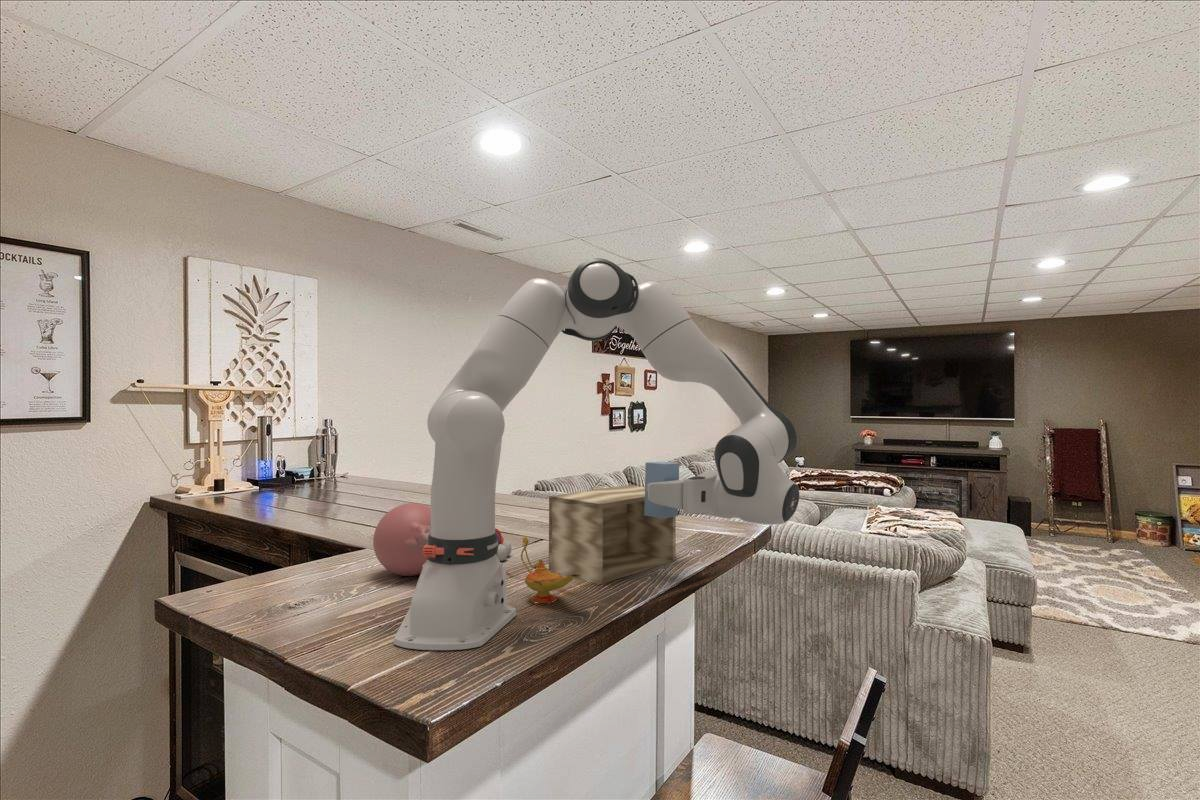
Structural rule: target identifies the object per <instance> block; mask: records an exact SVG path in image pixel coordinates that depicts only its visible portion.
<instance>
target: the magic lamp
mask: <svg viewBox="0 0 1200 800" xmlns="http://www.w3.org/2000/svg"><path fill="white" fill-rule="evenodd" d="M529 542H530V541H529V538H528V537H527V536H525V535H523V537H522V547H523V549H522V551H521V553H520V560H521V561H522V563H523V565H524V566H525V568H526V569H527V571H528V572H529V574H527V575H526V576H525V578H524V582H525V584H526V586H527V587H528V589H531V590H532V591H535V592H537V593H536V594H535V595H533V596H531V597H530V598H531V601H533V602H538V603H548V602H552V601H554V600H555V599H556V598H557V597H556V596H554V595H552V594H551V593H550V592H552V591H556V590H559V589H561V588H563V587H565V586H567V585H568V584H570V583H571V581H572V580H574V579H576V578H575V577H580V576H581V575H580V574H575V575H569V576H567V575H565V576H564V577H563V576H562V574H560V573H557V572H553V571H550V570H549V568H547V566H546V565H545V564H544V561H543V559H538V562H536V563H535V565H534V566H533V565H532V563H531V561H530V559H529V555H528V551H527V547H528V545H529ZM524 552H525V555H526V559H527V562H528V564H529V566H530V567H531V568H533V569H534V571H532V570H531V569H530V567H528V565H527V563H526V562H525V560H524V557H523V555H524ZM531 601H530V602H531ZM548 604H549V603H548Z"/></svg>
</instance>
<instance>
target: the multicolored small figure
mask: <svg viewBox="0 0 1200 800" xmlns="http://www.w3.org/2000/svg"><path fill="white" fill-rule="evenodd" d="M495 531H496V532H497V538H498V552H497V553H496V555H497V557H498V559H499V561H501V562H503V561H505V560H506V559H507V557H508V556H510V555H511V553H512V548H513V547H512V545H511V543H510V542H509V541H508V540H504V537H503V535H502V533H501V531H500V530H499V529H498V528H496V527H495Z"/></svg>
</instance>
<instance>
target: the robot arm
mask: <svg viewBox="0 0 1200 800" xmlns="http://www.w3.org/2000/svg"><path fill="white" fill-rule="evenodd" d="M633 282H634V283H633ZM616 328H620V329H622V330H624V331H625V332H627V333H628V334H629V335H630V337H632V339H634V341H635V342H636V344H637V346H638V347H639V349H640V351H641V352H642V354H643V355H644V357H645V358H646V360H647V361H648V363H649V364H650V366H651V367H652V368H653V369H654V370H655V371H656V372H657V374H658V375H659V376H661V377H662V378H664V379H667V380H670V381H673V382H679V383H680V382H681V383H684V382H685V383H697V384H703V385H705V386H708V387H709V388H711V389H713V390H714V391H715V392H716V393H717V394H718V395H719V396H720V398H721V399H722V401H724V402H725V403H726V405H727V406H728V407H729V408H730V409H731V411H732V412H733V413H734V414H735V416H736V417H737V418H738V419H739V421H740V425H739V426H738V427H736V428H734V429H733V430H731V431H730V432H728V433H726V435H724V436H723V437H722V438H721V439H720V440H719V441H718V442H717V443H716V446H715V448H714V454H713V455H714V463H715V466H716V470H715V469H714V470H712V469H708V470H705V471H704V472H703V473H700V474H697V476H693V477H688V478H684V479H679V480H674V481H665V482H653V483H648V484H647V491H648V500H649V501H650V502H652V503H655V504H658V505H662V506H667V507H671V508H676V509H678V510H683V511H682V512H683V513H684V514H687V515H704V516H708V517H714V518H720V519H721V518H722V519H727V520H728V519H729V520H731V519H739V520H741V521H743V522H748V523H753V524H760V525H761V524H762V525H782V524H785V523H787V522H789V520H790V519H791V518H792V517H793V516H794V514H795V512H796V511H797V508H798V506H799V503H800V501H799V500H800V488H799V486H798V484H797V483H796V482H795V481H793V480H791V478H789V477H788V476H787V475H786V473H785V472H784V471H783V470H782V468H781V467H780V465H779V464H780V463H781V462H783V461H785V460H786V459H788V458H789V457H791V456H792V454H794V451H796V448H797V447H796V446H797V441H798V440H797V432H796V430H795V426H794V425H793V423H792V422H791V420H790V419H789V418H788V417H787V416H786V415H785V414H784V413H782V412H780V411H779V410H778V409H777V408H775V407H774V406H773V405H772V404H770V403H769V402H768V401H767V400H766V398H764V396H763V395H762V394H761V393H760V391H759V390H758V389H757V388H756V387H755V386H754V384H753V383H752V382H751V381H750V379H748V377H747V376H746V375H745V374H744V372H743V371H742V370H741V369H740V368H739V366H738V365H737V363H735V362H734V361H733V360H732V359H731V358H730V357H729V355H728V354H726V352H724V351H723V350H722V349H720V348H719V347H717V346H716V345H715V344H714V343H712V341H711V340H710V339H709V338H708V337H707V336H706V335H705V334H704V333H703V332H702V331H701V329H700V328H699V327H698V326H697V324H696V323H695V322H694V320H693V319H692V317H691V316H690V314H689V313H688V311H687V310H686V309H685V308H684V306H683V305H682V303H680V302H679V300H678V299H677V298H676V297H675V296H674V295H673V294H672V293H671V291H670V290H668V289H667V287H665V286H664V285H663V284H662V283H660V282H658V281H655V280H651V281H650V280H649V281H644V282H641V283H638V282H637V279H636V278H635V276H633V275H631V274H629V273H628V272H626V271H624V269H622V268H621V267H620V266H619V265H617V264H616V263H614V262H613V261H611V260H608V259H605V258H601V257H596V258H595V257H594V258H590V259H588V260H587V259H586V260H585V261H583V262H582V263H580V264H578V266H577V267H576V268H575V270H574V271H573V272H572V273H571V275H570V277H569V280H568V283H567V285H560V284H559V285H558V284H557V283H555V282H553V281H550V280H549V279H545V278H539V277H537V278H535V277H534V278H532V279H529V280H527V281H526V282H525V283H524V284H523V285H522V286H521V287H520V288H518V290H517V291H516V292H515V293H514V294H513V295H512V296H511V297H510V299H509V300H508V301H507V302H506V303H505V305H504V306H503V307H502V309H501V310H500V311H499V313H498V315H497V316H496V318H495V319H494V321H493V322H492V323H491V325H490V326H489V328H488V329H487V330H486V332H485V334H484V335H483V336H482V338H481V339H480V341H479V343H477V346H476V347H475V349H474V350H473V351H472V353H471V354H470V355H469V357H468V358H466V361H464V363H463V365H461V367H460V368H459V370H458V371H457V372H456V374H455V375H454V376H453V378H451V380H450V381H449V383H448V384H447V385H446V387H445V388H444V389H443V391H442V392H441V394H440V395H439V396H438V398H437V399H436V401H435V402H434V403H433V405H432V406H431V408H430V410H429V412H428V414H427V421H426V422H427V423H426V424H427V429H428V430H427V431H428V433H429V436H430V438H431V439H432V440H433V442H434V444H435V445H434V460H433V461H434V462H433V469H432V470H433V473H432V480H431V487H430V507H431V534H429V536H428V542H427V545H425V546H424V547H423V548H424V549H423V557H424V558H426V559H427V561H426V563H425V564H424V565H423V568H422V571H421V574H419V577H418V580H417V583H416V584H415V585H416V586H415V587H414V591H413V594H412V597H411V601H410V607H409V609H407V610H408V611H407V612H406V614H405V616H404V618H403V620H402V623H400V626H399V628H398V629H397V632H396V633H395V635H394V637H393V644H394V645H396V646H398V647H401V648H405V649H410V650H411V649H413V650H420V651H421V650H422V651H457V650H459V651H460V650H468V649H474V648H479V647H482V646H483V645H484V644H486V643H487V642H488V641H489V640H491V638H493V637H494V636H495V635H496V634H497V633H499V631H501V629H503V628H504V627H505V626H506V625H507V624H508V623H510V621H512V620H513V618H515V617H516V616H517V609H516V608H515V607H513V606H511V605H508V589H507V588H508V587H507V585H508V583H507V568H506V566H505V565H504V564H503V563H502V561H501V562H500V561H499V559H498V557H497V555H496V553H497V552H498V538H497V532H496V531H495V528H496V487H497V479H498V472H499V468H500V467H499V465H500V459H501V452H502V451H501V450H502V441H503V440H502V439H503V435H504V432H505V427H506V424H505V417H504V414H503V412H504V410H506V408H507V406H509V404H510V403H511V402H512V401H513V400H514V398H515V397H516V396H517V395H518V394H519V392H521V391H522V389H523V388H524V387H526V385H527V384H528V382H529V381H530V379H531V377H532V376H533V374H534V373H535V371H536V370H537V368H538V367H539V366H540V363H541V362H542V361H543V358H544V357H545V355H547V352H548V351H549V349H550V348H551V346H552V344H553V343H554V341H555V339H556V338H557V337H558V335H559V334H560V333H562V334H564V335H568V336H572V337H575V338H578V339H581V340H584V341H587V342H589V341H590V342H598V341H601V340H604V339H607V338H608V337H609V336H610V335H611V334H612V333H613V332H614V331H615V330H616Z"/></svg>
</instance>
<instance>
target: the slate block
mask: <svg viewBox="0 0 1200 800" xmlns="http://www.w3.org/2000/svg"><path fill="white" fill-rule="evenodd" d="M644 473H645V475H644V477H645V478H644V479H645V480H644V487H645V509H644V515H646V516H651V517H657V518H663V519H664V518H670V517H675V516H676V517H678V516H679V509H676V508H671V507H667V506H662V505H658V504H655V503H652V502H650V501H649V500H648V491H647V484H648V483H653V482H665V481H674V480H680V463H679V462H667V461H651V462H650V461H649V462H645V472H644Z"/></svg>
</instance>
